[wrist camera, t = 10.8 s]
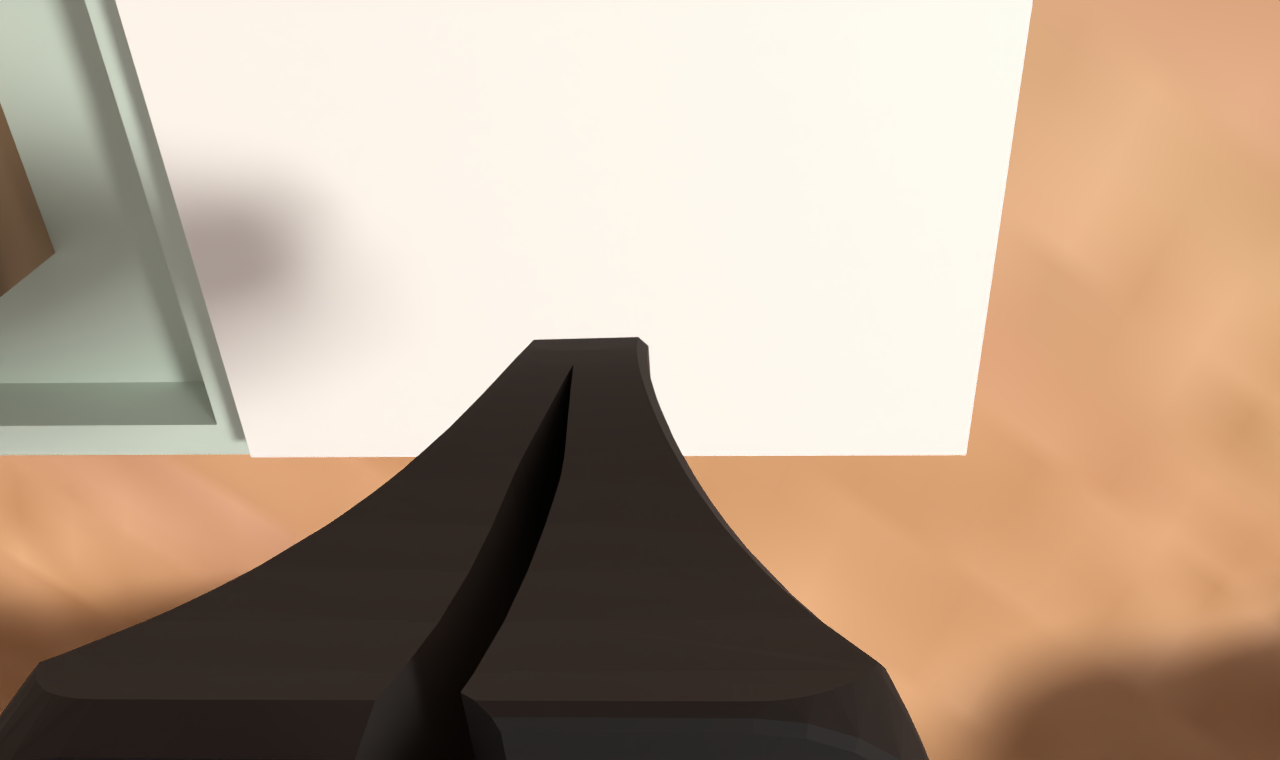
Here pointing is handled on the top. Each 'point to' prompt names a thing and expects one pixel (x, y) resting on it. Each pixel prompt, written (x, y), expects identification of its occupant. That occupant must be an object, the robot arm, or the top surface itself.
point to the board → (591, 207)
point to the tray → (100, 258)
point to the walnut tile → (18, 217)
